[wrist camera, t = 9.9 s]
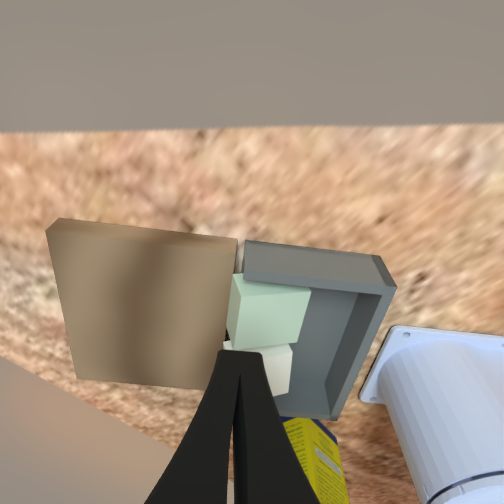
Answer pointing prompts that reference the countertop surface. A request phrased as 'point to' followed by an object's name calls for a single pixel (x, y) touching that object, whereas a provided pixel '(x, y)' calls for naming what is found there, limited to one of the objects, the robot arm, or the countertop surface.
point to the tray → (325, 320)
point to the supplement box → (318, 458)
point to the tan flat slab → (142, 301)
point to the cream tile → (273, 365)
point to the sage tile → (265, 313)
